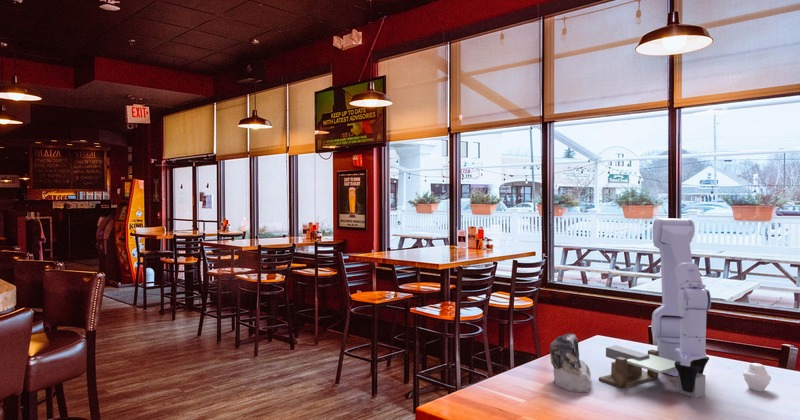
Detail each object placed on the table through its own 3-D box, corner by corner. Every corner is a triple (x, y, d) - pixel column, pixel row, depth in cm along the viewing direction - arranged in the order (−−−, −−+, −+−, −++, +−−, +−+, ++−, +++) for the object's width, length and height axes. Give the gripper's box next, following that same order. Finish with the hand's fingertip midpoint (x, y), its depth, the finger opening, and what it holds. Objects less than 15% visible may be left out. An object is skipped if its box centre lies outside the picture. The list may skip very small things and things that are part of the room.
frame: (635, 370, 154) (636, 345, 154) (658, 378, 148) (658, 351, 148) (598, 380, 145) (599, 353, 145) (621, 388, 140) (622, 359, 139)
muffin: (746, 383, 145) (746, 357, 145) (773, 389, 140) (774, 363, 140) (739, 389, 140) (740, 362, 140) (767, 395, 136) (768, 368, 136)
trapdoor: (623, 352, 154) (623, 343, 154) (685, 371, 139) (685, 361, 139) (598, 358, 149) (598, 349, 149) (659, 378, 133) (660, 367, 133)
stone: (603, 399, 136) (583, 350, 133) (566, 411, 138) (545, 364, 135) (590, 368, 149) (570, 324, 146) (556, 380, 151) (536, 336, 148)
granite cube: (687, 389, 140) (688, 370, 140) (704, 394, 136) (705, 375, 136) (677, 392, 138) (678, 372, 138) (694, 397, 134) (695, 378, 134)
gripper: (683, 327, 145) (681, 376, 145) (667, 337, 134) (666, 391, 134) (712, 331, 140) (711, 383, 140) (699, 342, 129) (697, 398, 129)
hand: (691, 387), depth 137 cm, fingers open, 7 cm apart
